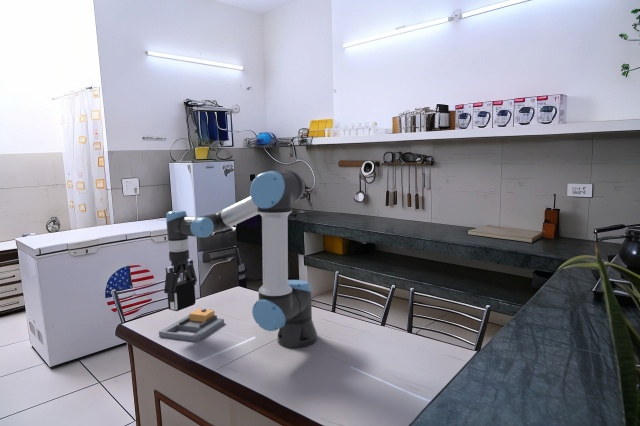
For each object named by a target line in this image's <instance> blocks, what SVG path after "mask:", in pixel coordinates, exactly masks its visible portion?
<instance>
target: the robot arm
mask: <svg viewBox="0 0 640 426" xmlns="http://www.w3.org/2000/svg"><path fill="white" fill-rule="evenodd" d="M252 180H253V181H252V182H251V185H250V188H249V195H250V196H248V197H246V198H244V199H242V200H240V201H237V202H236V203H233V204H232V205H230V206H228V207H225V208H223V209H221V210H220V211H217V212H215V213H211V214H204V215H199V216H188V214H187V211H186V210H171V211H168V212H166V217H165V218H166V219H165V220H166V221H165V223H166V231H167V232H166V233H167V242H168V243H167V244H168V258H169V259H168V260H169V261H170V262H171V264H170V266H169V267H168V266H166V267H165V281H164V288H163V289H164V290H163V291H164V294H167V293H168V294H169V301H170V308H171V309H172V310H171V311H173V310H177V309H178V308H177V294H176V293H175V290H176V286H177V282H179V278H180V277H181V274H182V276H183V277H184V280H191V281H194V286H196V285H197V281H198V278H197V276H196V274H197V273H196V271H195V266H194V260H193V259H190V250H189V248H190V246H189V237H196V238H208V237H210V236H211V235H212V234H214V233H218V232H223V231H224V232H225V231H228V230H230V229H231V228H233V227H234V226H236V225H238V224H240V223H242V222H244V221H246V220H249V219H250V218H253V217H255V216H258V215H260V216H261V234H262V235H261V237H262V238H261V239H262V241H261V243H262V246H261V248H262V285H261V286H260V287H259V289H258V299H257V300H256V302H255V303H253V306H252V311H251V313H252V317H253V319H254V321H255V323H256V324H257V325H258V326H259V328H261V329H263V330H264V331H267V332H276V331H278V332H277V337H276V338H277V343H278V345H279V346H281V347H283V348H287V349H303V348H308V347H310V346H312V345H315V343H316V342H317V341H318V332H317V329H316V327H315V324H314V321H313V317H312V316H313V315H312V289H311V284H310V282H308V281H307V280H302V279H289V262H288V260H289V258H288V257H289V256H288V255H289V253H288V252H289V250H288V248H289V247H288V246H289V245H288V244H289V243H288V241H289V239H288V237H289V236H288V231H289V230H288V227H289V226H288V225H289V224H288V223H289V222H288V221H289V220H288V216H289V215H290V214H291V213H292V212H293V203H295V202H297V201H299V200H300V199H301V198H302V197H303V195H304V194H305V186H306V185H305V181H304V179H303V177H302V176H301V175H300V174H299V172H296V171H293V170H286V169H285V170H269V171H264V172H261V173H259V174H258V175H256V177H255V178H254V179H252ZM174 298H175V307H174Z"/></svg>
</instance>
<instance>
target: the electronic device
mask: <svg viewBox="0 0 640 426" xmlns="http://www.w3.org/2000/svg"><path fill="white" fill-rule="evenodd" d="M195 286H196V285H194V281H191V280H186V279H183V280H180V281H178V282H177V286H176V290H175V293H176V294H177V308H178V309H177V310H172V309H171V308H170V301H169V294H168V293H166V294H167V303H168V304H167V305H168V310H170V311H173V312H179V311H182V310H185V309H187V308H190V307H192V306H194V305H195V304H196V289H195ZM174 307H175V298H174Z"/></svg>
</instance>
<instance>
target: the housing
mask: <svg viewBox="0 0 640 426" xmlns="http://www.w3.org/2000/svg"><path fill="white" fill-rule="evenodd" d="M224 324H225V319H224V318H219V317H218V316H217V315H216V314H215V315H214V316H213V317H211V318H210V319H208V320H206V321H205V322H198V321H190V316H189V314H188V315H186V316H184V317H183V318H181V319H179V320H177V321H176V322H174V323H172V324H170V325H168V326H166V327H165V328H162V329H161V330H159V331H158V337H161V338H168V339H173V340H181V341H187V342H197V343H198V342H199V341H201V340H202V339H203V338H205V337H207V336H208V335H209V334H210V333H212V332H213V331H215V330H217V329H218V328H219V327H221V326H223V325H224ZM176 331H185V332H186V331H187V332H193V333H194V334H187V333H180V332H176Z"/></svg>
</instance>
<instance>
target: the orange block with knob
mask: <svg viewBox="0 0 640 426" xmlns="http://www.w3.org/2000/svg"><path fill="white" fill-rule="evenodd" d="M188 315H189V316H190V321H198V322H205V321H206V320H208V319H210V318H211V317H213V316H214V315H216V314H215V310H214V309H208V308H207V309H206V308H197V309H196V310H194V311H192V312H190V313H189V314H188Z"/></svg>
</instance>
